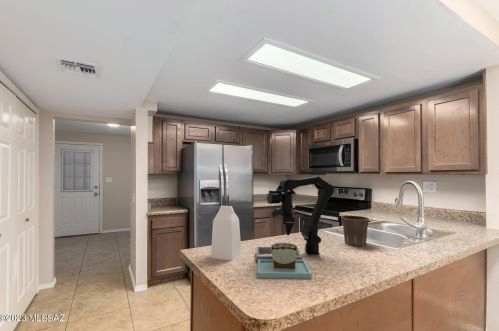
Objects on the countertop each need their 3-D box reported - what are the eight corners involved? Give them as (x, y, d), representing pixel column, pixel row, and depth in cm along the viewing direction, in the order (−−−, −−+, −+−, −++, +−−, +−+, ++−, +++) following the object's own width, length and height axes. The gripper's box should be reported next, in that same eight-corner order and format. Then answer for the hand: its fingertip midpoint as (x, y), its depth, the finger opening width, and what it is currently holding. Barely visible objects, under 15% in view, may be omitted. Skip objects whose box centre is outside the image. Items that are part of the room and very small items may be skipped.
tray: (304, 264, 120) (304, 259, 120) (311, 278, 103) (311, 273, 103) (258, 263, 122) (258, 259, 122) (257, 277, 105) (257, 272, 105)
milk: (211, 257, 131) (211, 207, 132) (221, 251, 141) (221, 204, 142) (232, 260, 126) (232, 207, 128) (241, 253, 137) (240, 205, 138)
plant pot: (375, 244, 154) (374, 217, 155) (360, 249, 144) (359, 220, 145) (351, 239, 167) (350, 214, 168) (336, 243, 158) (335, 217, 158)
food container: (297, 264, 117) (297, 242, 117) (298, 269, 111) (298, 246, 111) (270, 264, 118) (270, 242, 118) (270, 268, 112) (270, 245, 112)
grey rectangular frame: (297, 252, 138) (297, 247, 138) (302, 263, 121) (302, 257, 122) (257, 252, 140) (257, 246, 140) (256, 262, 123) (256, 256, 123)
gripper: (270, 201, 143) (271, 229, 142) (272, 205, 124) (272, 237, 124) (290, 201, 142) (291, 229, 142) (295, 205, 124) (295, 237, 123)
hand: (287, 233), depth 133 cm, fingers open, 9 cm apart
